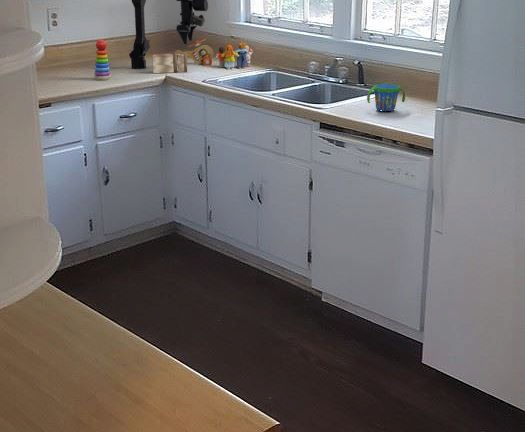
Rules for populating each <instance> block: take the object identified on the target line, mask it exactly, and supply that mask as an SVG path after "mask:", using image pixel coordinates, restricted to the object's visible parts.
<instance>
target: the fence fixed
mask: <svg viewBox="0 0 525 432" xmlns="http://www.w3.org/2000/svg"><path fill="white" fill-rule="evenodd" d="M177 56H178V60H177V70H178V72H177V73H188V58H187V53H183V54H177Z"/></svg>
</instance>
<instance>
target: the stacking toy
mask: <svg viewBox="0 0 525 432" xmlns="http://www.w3.org/2000/svg"><path fill="white" fill-rule="evenodd" d="M107 46H108V44H107V42H106V41H105V40H103V39H98V40H97V41H96V42H95V47H96V49H97V50H96V52H95V53H96V54H95V64H94V66H95V67H94V72H93V73H94V77H93V79H95V80H96V81H108V80H110V79H111V78H112V76H111V71H110V66H109V65H110V63H109V59H108V51H107V50H106V49H107Z"/></svg>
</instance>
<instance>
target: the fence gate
mask: <svg viewBox="0 0 525 432" xmlns="http://www.w3.org/2000/svg"><path fill="white" fill-rule="evenodd" d="M151 57H152V73H153V74H162V73H163V74H167V73H179V72H178V60H177V53H174V52H173V53H163V54H162V53H159V54H152V56H151Z"/></svg>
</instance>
